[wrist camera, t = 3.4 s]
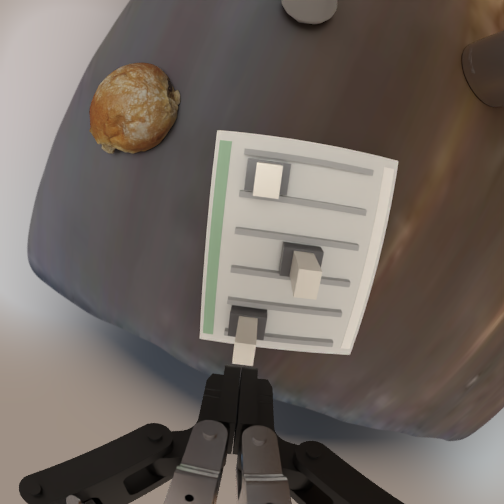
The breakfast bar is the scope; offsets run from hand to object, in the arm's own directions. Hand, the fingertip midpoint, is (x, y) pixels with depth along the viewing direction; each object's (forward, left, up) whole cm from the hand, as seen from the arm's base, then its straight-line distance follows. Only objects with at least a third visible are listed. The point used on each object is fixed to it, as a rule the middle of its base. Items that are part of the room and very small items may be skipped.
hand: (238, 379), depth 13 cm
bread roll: (+15, -14, -21) cm, 30 cm away
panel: (-4, 0, -21) cm, 21 cm away
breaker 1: (0, +8, -19) cm, 21 cm away
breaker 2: (0, -8, -19) cm, 21 cm away
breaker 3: (-5, 0, -19) cm, 20 cm away
